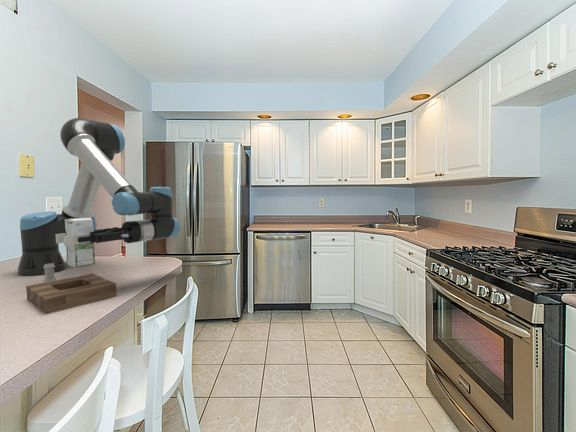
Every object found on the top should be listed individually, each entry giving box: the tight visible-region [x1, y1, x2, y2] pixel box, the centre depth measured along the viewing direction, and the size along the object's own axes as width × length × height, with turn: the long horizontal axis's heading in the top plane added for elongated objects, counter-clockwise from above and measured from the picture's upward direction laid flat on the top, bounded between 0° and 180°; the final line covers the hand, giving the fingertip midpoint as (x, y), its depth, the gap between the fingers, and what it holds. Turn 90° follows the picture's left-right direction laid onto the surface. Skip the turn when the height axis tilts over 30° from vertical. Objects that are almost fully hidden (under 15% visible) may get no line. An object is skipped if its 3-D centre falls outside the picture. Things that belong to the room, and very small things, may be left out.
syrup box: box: [65, 218, 96, 268], centre depth 99 cm, size 6×6×14 cm
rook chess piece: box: [42, 263, 57, 283], centre depth 107 cm, size 4×4×8 cm
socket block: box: [25, 273, 117, 315], centre depth 98 cm, size 18×18×4 cm
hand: (60, 239), depth 95 cm, fingers closed on syrup box, 6 cm apart
